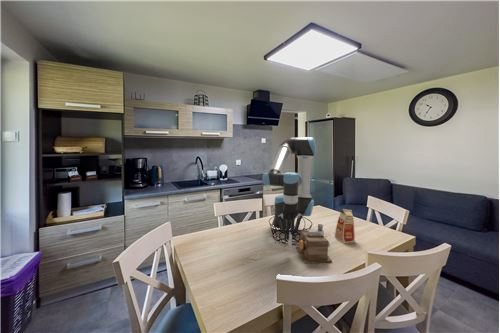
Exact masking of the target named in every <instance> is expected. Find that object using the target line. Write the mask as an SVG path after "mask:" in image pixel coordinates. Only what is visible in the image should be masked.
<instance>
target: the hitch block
mask: <svg viewBox="0 0 500 333" xmlns="http://www.w3.org/2000/svg"><path fill="white" fill-rule="evenodd" d="M307 230H308V229H305V230H300V234H299V236H300V237H299V240H303V241H304V242H305V248H304V250H300V248H299V246H295V249H296V251H297V252H298V254H299V256H300V258H301V260H302V261H303V263H304V264H307V265H309V264H333V260H332V259H331V257H329V255H328V254H329V247H328V241H329V240H328V239H327V238H326V237H325V235H324V236H308V234H307Z"/></svg>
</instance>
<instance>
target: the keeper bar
mask: <svg viewBox="0 0 500 333" xmlns="http://www.w3.org/2000/svg"><path fill="white" fill-rule="evenodd" d="M323 226H324V224H322V223H319V224H317V228H316V229H313V228H312V229H306V230H307V234H308V236H324V237H325V231H324V227H323Z"/></svg>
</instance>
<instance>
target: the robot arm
mask: <svg viewBox="0 0 500 333" xmlns="http://www.w3.org/2000/svg"><path fill="white" fill-rule="evenodd" d="M293 154H294V155H296V157H297V159H298V164H297V167H298V168H297V172H294V171H293V172H289V171H288V172H284V173H283V171H284V169H285V167H286V164H287V161H288V159H289V157H290V156H291V155H293ZM315 155H317V144H316V139H315V138H314V137H309V136H303V137H301V136H300V137H295V136H293V137H289V138H287V139H285V140H284V141H282V142H281V143H280V145H279V146H278V147H277V154H276V156H275V158H274V161H273V162H272V164H271V167H270V169H269V171H266V172H264V173H263V174H262V185H264V186H269V187H283V189H282V190H283V194H281V195H277V196H275V198H274V217H273V221H272V223H271V226H272V225H274V226H275V227H277V228H280V229H282V230H283V231H282V232H283V234H285V235H286V236H285V239H286V240H287V245H288V247H292V246H293V240H294V238H295V234H298V233H299V232H298V231H299V227H300V226H301V225H300V223H301V220H302V218H303V217H310V216H312V213H313V210H314V205H315V200H314V199H313V198H312V197H313V196H312V195H311V194H310V192H311V191H310V190H311V171H312V159H313V158H314V157H315ZM295 220H296V222H295ZM290 228H291V230H290V231H289V229H290ZM285 229H286V230H285Z"/></svg>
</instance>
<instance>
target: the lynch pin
mask: <svg viewBox="0 0 500 333" xmlns="http://www.w3.org/2000/svg"><path fill="white" fill-rule="evenodd" d="M330 245H331V244H330V241H329V240H328V248H330V247H331V246H330ZM298 247H299V248H300V250H304V248H305V242H304V241H303V240H300V239H299V240H298Z"/></svg>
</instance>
